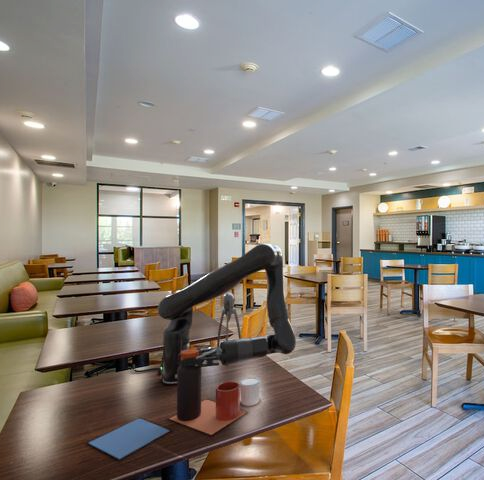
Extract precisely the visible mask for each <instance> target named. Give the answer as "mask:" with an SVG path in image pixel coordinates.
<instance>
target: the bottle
mask: <svg viewBox="0 0 484 480" xmlns="http://www.w3.org/2000/svg"><path fill="white" fill-rule="evenodd" d="M198 354H199V353H198V350H197V349H194V348H190V349H187V350H183V351H182V352H181V360H182V359H186V358H192V357H194V358H195V357H197V356H198ZM201 402H202V367H198V366H195V365H192V366H186V367H181V365H180V366H179V367H178V369H177V384H176V415H177V418H178V419H179V420H181V421H190V420H193V419H196V418H197V417H199V416H200V414H201Z"/></svg>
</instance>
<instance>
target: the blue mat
mask: <svg viewBox="0 0 484 480" xmlns="http://www.w3.org/2000/svg"><path fill="white" fill-rule="evenodd" d="M170 431H171V430H169V429H167V428H165V427H163V426H160V425H158V424H155V423H153V422H150V421H147V420H144V419H142V418H140V417H139V418H137V419H135V420H133V421H131V422H129V423H127V424H125V425H123V426H120V427H118V428H116V429H114V430H112V431H110V432H107V433H106V434H104V435H102V436H99V437H97V438H95V439H93V440H91V441H89V442H88V443H87V444H88V445H89V446H92V447H94V448H95V449H97V450H100V451H101V452H103V453H106V454H108V455H109V456H110V457H112V458H115V459H117V460H119V461H120V460H122V459H124V458H125V457H127V456H129V455H130V454H133V453H134V452H136V451H139V450H140V449H141V448H143V447H145V446H147V445H149V444H150V443H151V442H153V441H155V440H156V439H157V438H160V437H161V436H163V435H166V434H167V433H168V432H170Z"/></svg>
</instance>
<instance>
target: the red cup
mask: <svg viewBox="0 0 484 480" xmlns="http://www.w3.org/2000/svg"><path fill="white" fill-rule="evenodd" d="M215 402H216V419H218V420H220V421H228V420H232V419H235V418H236V417H238V416H239V413H240V410H241V409H240V407H241V405H240V404H241V392H240V382H239V381H233V380H229V381H224V382H221V383H219V384H217V385H216V386H215Z"/></svg>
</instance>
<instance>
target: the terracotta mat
mask: <svg viewBox="0 0 484 480" xmlns="http://www.w3.org/2000/svg"><path fill="white" fill-rule="evenodd" d="M246 413H247V412H246V411H244V410H241V409H240V413H239V416H238V417H236V418H235V419H232V420H228V421H220V420H218V419H216V401H213V400H209V399H204V400H201V414H200V416H199V417H197V418H196V419H193V420H190V421H181V420H179V419H178V418H177V414H175V415H173V416H171V417H170V418H168V419H169V420H171V421H172V422H173V421H174V422H176V423H178V424H181V425H184V426H187V427H189V428H192V429H195V430H196V431H200V432H203V433H205V434H208V435H210V436H213V435H214V434H215V433H217V432H219V431H221V429H223V428H225V427H226V426H228V425H229V424H231V423H232V422H234V421H236V420H237V419H239V418H240V417H242V416H243V415H245V414H246Z"/></svg>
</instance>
